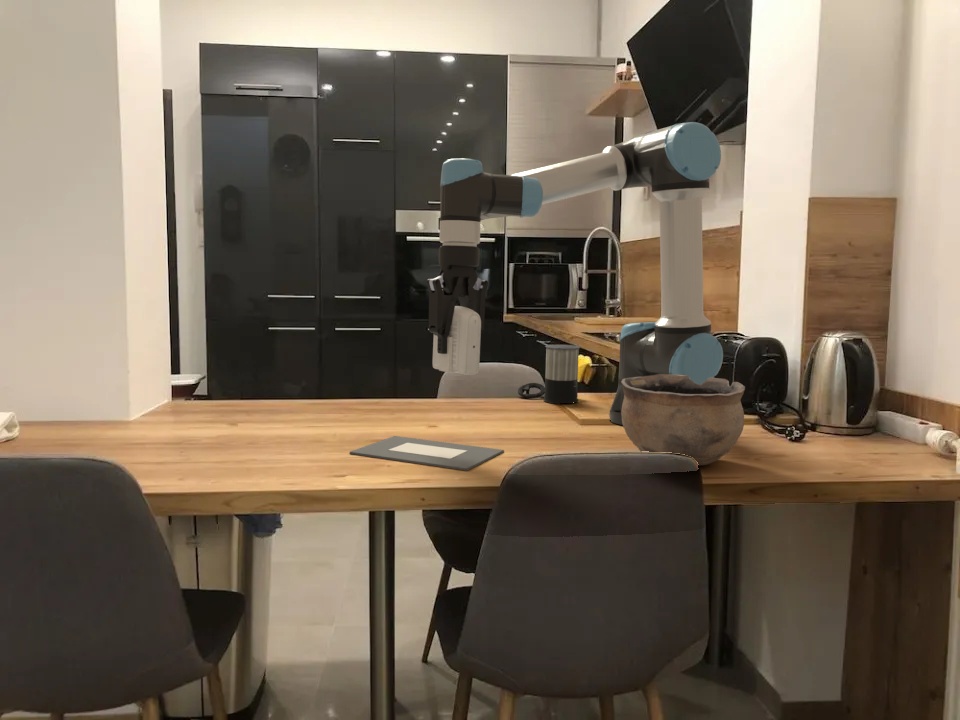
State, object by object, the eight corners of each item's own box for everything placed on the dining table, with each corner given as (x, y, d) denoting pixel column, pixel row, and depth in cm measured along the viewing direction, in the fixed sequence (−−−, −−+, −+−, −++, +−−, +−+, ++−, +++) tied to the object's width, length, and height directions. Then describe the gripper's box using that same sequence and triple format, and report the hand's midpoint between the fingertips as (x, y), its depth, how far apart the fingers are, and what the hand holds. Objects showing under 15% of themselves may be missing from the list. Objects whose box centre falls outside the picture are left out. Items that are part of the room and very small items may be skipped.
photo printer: (482, 374, 145) (485, 307, 143) (465, 375, 142) (468, 307, 140) (445, 368, 152) (447, 304, 151) (429, 369, 149) (430, 304, 148)
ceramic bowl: (763, 464, 143) (768, 383, 141) (704, 485, 128) (709, 395, 126) (658, 443, 159) (662, 370, 157) (594, 460, 143) (597, 379, 141)
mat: (503, 451, 148) (504, 449, 148) (467, 470, 133) (467, 467, 133) (394, 437, 158) (394, 435, 158) (349, 453, 143) (349, 451, 143)
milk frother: (580, 405, 202) (582, 348, 200) (519, 403, 202) (520, 346, 200) (574, 396, 216) (576, 343, 214) (517, 394, 216) (518, 341, 215)
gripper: (480, 247, 153) (476, 365, 156) (409, 242, 141) (406, 371, 144) (507, 247, 148) (502, 370, 150) (436, 242, 136) (432, 375, 138)
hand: (455, 370), depth 147 cm, fingers closed on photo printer, 4 cm apart
